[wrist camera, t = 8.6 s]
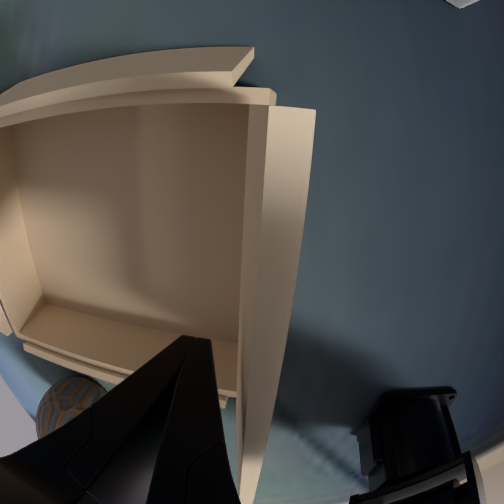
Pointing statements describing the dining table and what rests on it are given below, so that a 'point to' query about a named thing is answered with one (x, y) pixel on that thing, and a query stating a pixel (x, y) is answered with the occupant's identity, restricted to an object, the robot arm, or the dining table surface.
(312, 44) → the dining table surface
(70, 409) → the vase
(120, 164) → the carton
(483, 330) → the dining table surface
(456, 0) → the ink box
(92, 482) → the robot arm
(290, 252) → the flap right
